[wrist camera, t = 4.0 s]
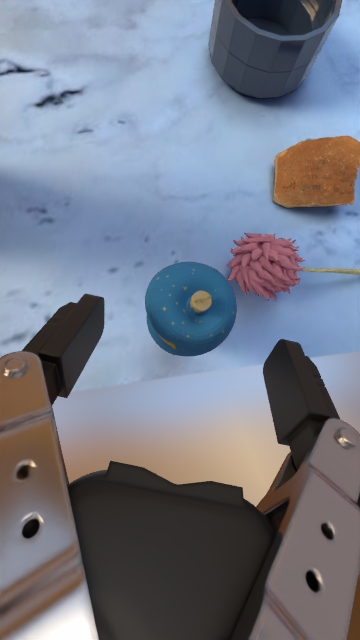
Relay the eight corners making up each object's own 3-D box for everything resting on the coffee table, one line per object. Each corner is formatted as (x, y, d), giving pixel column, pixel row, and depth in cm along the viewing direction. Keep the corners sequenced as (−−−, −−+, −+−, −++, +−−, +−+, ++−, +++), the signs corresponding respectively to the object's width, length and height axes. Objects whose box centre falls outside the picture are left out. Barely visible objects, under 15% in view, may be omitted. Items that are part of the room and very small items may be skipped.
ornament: (146, 311, 25) (119, 258, 10) (192, 295, 25) (234, 222, 10) (162, 358, 24) (160, 379, 9) (209, 341, 25) (278, 335, 10)
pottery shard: (354, 144, 29) (372, 125, 26) (360, 217, 28) (380, 204, 25) (269, 138, 28) (280, 117, 25) (272, 212, 27) (283, 198, 24)
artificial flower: (394, 238, 31) (212, 242, 25) (472, 218, 24) (245, 217, 18) (395, 290, 31) (216, 306, 25) (472, 284, 24) (251, 305, 19)
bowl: (216, 107, 28) (230, 42, 22) (201, 17, 29) (211, -67, 23) (314, 102, 29) (353, 38, 23) (296, 15, 30) (328, -67, 24)
